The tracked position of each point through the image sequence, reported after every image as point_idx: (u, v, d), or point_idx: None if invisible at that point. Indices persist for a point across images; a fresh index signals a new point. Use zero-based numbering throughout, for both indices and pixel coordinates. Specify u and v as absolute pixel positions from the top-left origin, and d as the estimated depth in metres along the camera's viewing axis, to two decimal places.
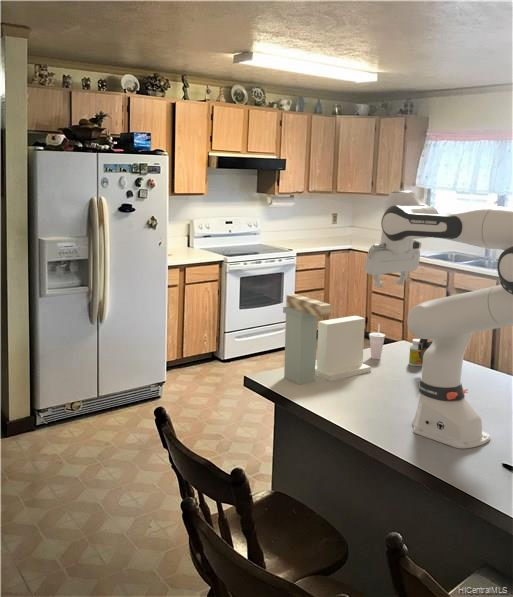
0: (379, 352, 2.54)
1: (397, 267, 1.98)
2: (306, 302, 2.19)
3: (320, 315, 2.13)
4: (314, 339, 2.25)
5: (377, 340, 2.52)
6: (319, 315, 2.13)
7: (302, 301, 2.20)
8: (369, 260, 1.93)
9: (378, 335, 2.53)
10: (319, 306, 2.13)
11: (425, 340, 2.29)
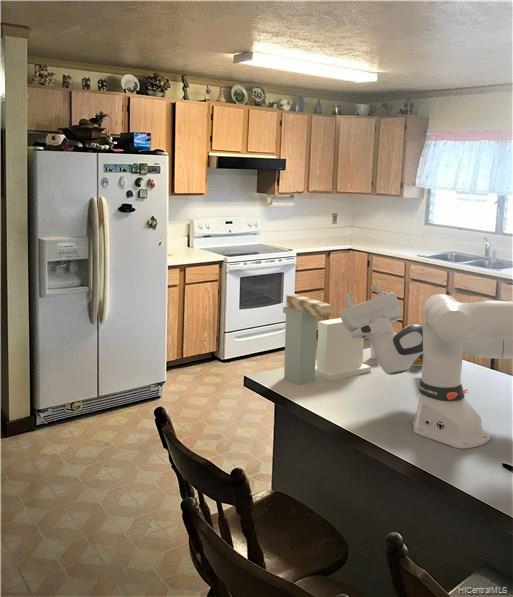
0: None
1: (368, 305, 2.06)
2: (306, 302, 2.19)
3: (320, 315, 2.13)
4: (314, 339, 2.25)
5: None
6: (319, 315, 2.13)
7: (302, 301, 2.20)
8: None
9: None
10: (319, 306, 2.13)
11: None
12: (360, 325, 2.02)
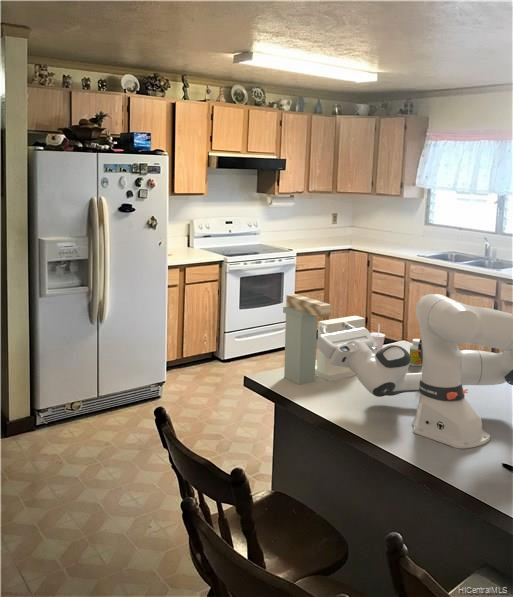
0: None
1: (343, 334, 2.06)
2: (306, 302, 2.19)
3: (320, 315, 2.13)
4: (314, 339, 2.25)
5: (377, 340, 2.52)
6: (319, 315, 2.13)
7: (302, 301, 2.20)
8: None
9: (378, 335, 2.53)
10: (319, 306, 2.13)
11: None
12: (338, 346, 1.99)
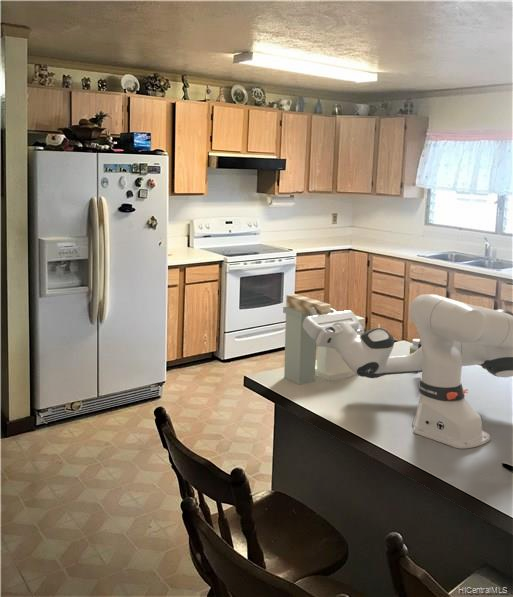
0: None
1: (329, 316, 2.11)
2: (306, 302, 2.19)
3: None
4: None
5: None
6: None
7: (302, 301, 2.20)
8: None
9: None
10: (319, 306, 2.13)
11: None
12: (324, 327, 2.04)
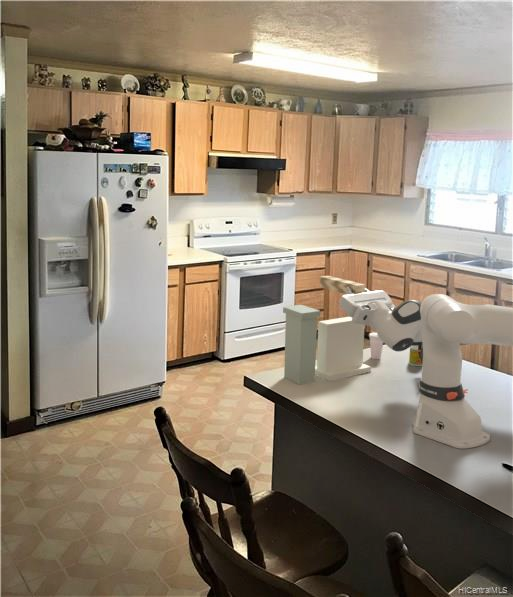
0: (379, 352, 2.54)
1: (363, 295, 2.20)
2: (340, 282, 2.28)
3: None
4: (314, 339, 2.25)
5: (377, 340, 2.52)
6: None
7: (336, 282, 2.30)
8: None
9: None
10: (354, 286, 2.22)
11: None
12: (360, 305, 2.13)
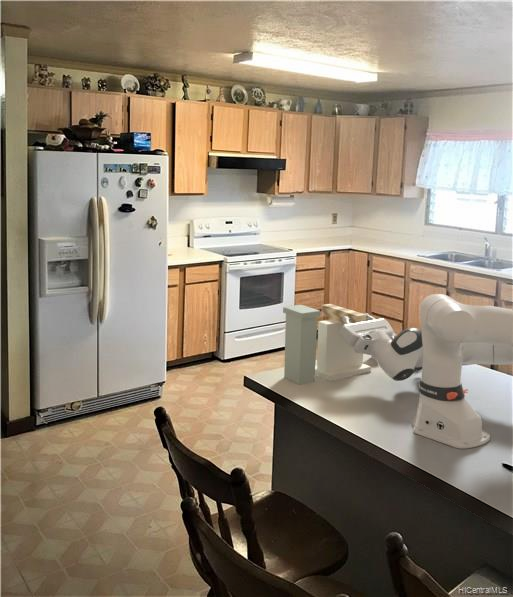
0: None
1: (364, 324, 2.23)
2: (342, 312, 2.31)
3: None
4: (314, 339, 2.25)
5: None
6: None
7: (338, 311, 2.33)
8: None
9: None
10: (355, 316, 2.25)
11: None
12: (361, 335, 2.16)
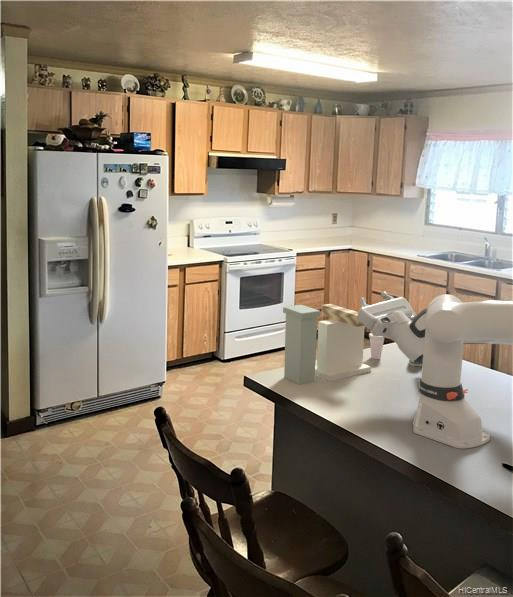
0: (379, 352, 2.54)
1: (382, 305, 2.16)
2: (342, 312, 2.31)
3: (356, 324, 2.25)
4: (314, 339, 2.25)
5: (377, 340, 2.52)
6: (355, 324, 2.26)
7: (338, 311, 2.33)
8: None
9: None
10: (355, 316, 2.25)
11: None
12: (379, 318, 2.10)
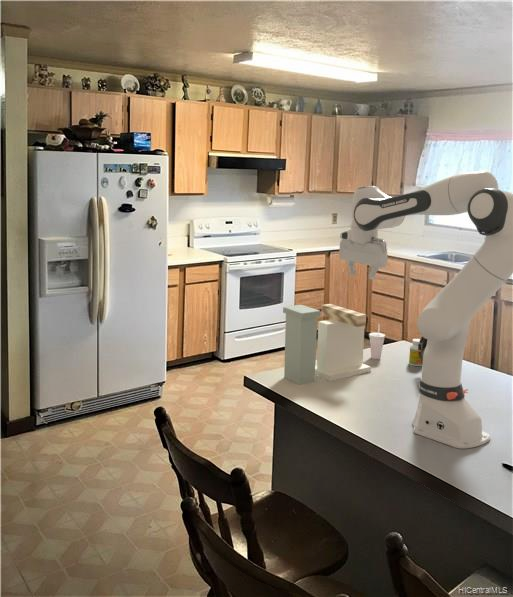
0: (379, 352, 2.54)
1: None
2: (342, 312, 2.31)
3: (356, 324, 2.25)
4: (314, 339, 2.25)
5: (377, 340, 2.52)
6: (355, 324, 2.26)
7: (338, 311, 2.33)
8: (383, 254, 2.04)
9: (378, 335, 2.53)
10: (355, 316, 2.25)
11: (425, 340, 2.29)
12: None
